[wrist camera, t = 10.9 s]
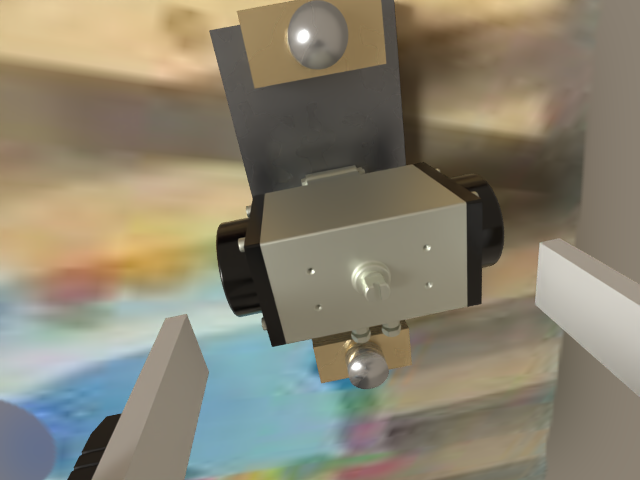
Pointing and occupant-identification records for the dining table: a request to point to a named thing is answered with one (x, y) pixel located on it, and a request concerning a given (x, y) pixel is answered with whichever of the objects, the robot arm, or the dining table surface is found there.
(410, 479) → the dining table surface
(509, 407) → the dining table surface
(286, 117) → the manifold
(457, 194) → the pneumatic valve
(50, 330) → the dining table surface
